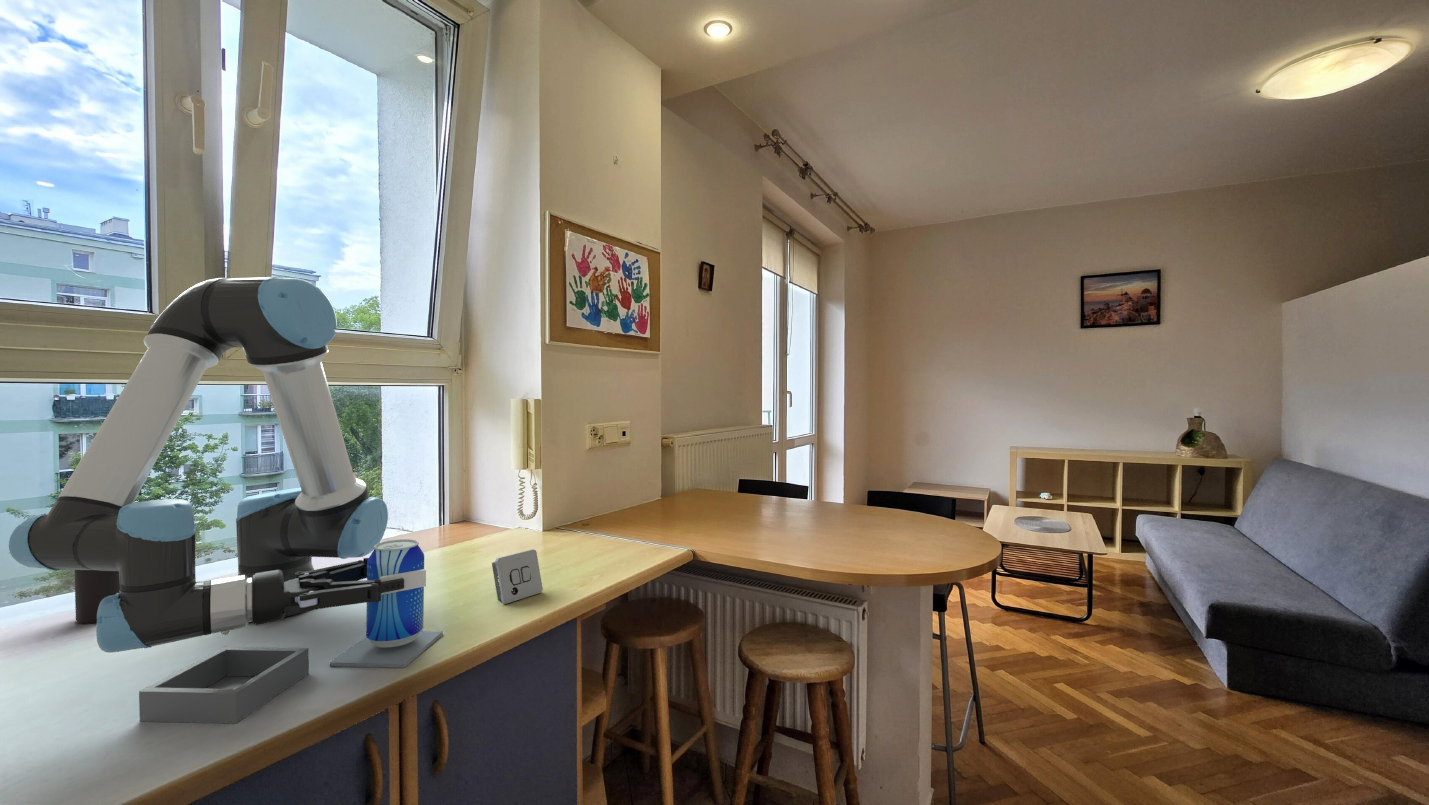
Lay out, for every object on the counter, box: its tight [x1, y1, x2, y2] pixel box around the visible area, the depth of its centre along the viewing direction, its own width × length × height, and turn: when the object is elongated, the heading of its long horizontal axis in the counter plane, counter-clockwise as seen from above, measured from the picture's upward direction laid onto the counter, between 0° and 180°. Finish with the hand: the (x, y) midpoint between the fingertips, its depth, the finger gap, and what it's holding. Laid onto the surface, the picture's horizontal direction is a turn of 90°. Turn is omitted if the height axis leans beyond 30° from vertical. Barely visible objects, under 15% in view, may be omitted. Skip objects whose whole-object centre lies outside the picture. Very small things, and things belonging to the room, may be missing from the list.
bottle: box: [73, 570, 120, 625], centre depth 109 cm, size 7×7×20 cm
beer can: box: [365, 538, 425, 648], centre depth 97 cm, size 8×8×16 cm
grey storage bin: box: [138, 646, 310, 724], centre depth 82 cm, size 13×13×4 cm
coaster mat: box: [329, 630, 444, 668], centre depth 97 cm, size 12×12×1 cm
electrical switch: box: [491, 548, 544, 605], centre depth 122 cm, size 9×5×9 cm, turn 141°
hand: (418, 570), depth 99 cm, fingers open, 9 cm apart
